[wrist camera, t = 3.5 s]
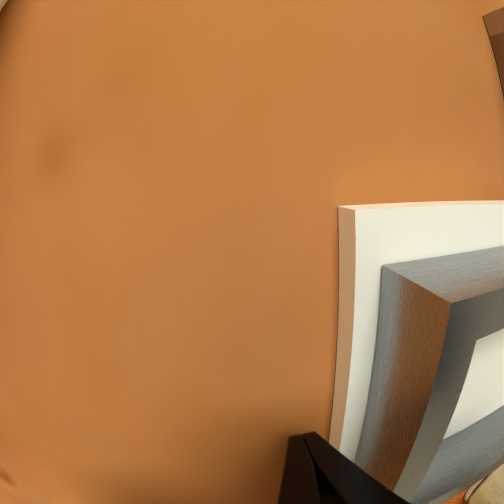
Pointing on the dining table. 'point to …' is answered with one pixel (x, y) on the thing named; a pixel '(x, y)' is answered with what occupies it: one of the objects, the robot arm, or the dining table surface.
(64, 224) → the dining table surface
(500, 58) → the hollow wooden box
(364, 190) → the dining table surface
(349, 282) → the base board
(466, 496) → the coffee can
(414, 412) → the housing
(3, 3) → the honey pot
